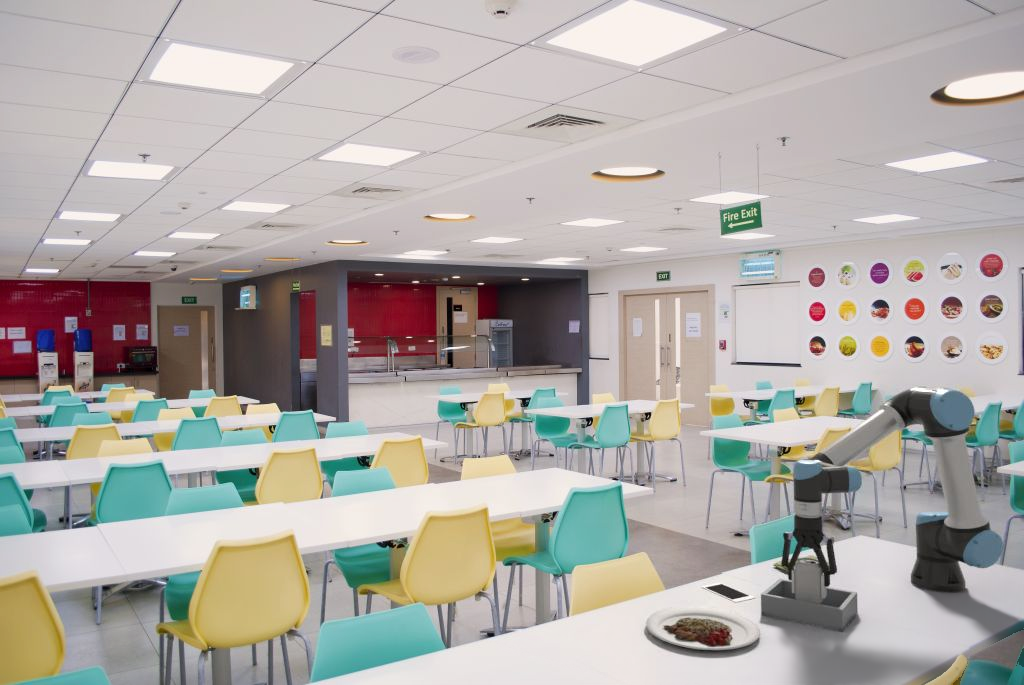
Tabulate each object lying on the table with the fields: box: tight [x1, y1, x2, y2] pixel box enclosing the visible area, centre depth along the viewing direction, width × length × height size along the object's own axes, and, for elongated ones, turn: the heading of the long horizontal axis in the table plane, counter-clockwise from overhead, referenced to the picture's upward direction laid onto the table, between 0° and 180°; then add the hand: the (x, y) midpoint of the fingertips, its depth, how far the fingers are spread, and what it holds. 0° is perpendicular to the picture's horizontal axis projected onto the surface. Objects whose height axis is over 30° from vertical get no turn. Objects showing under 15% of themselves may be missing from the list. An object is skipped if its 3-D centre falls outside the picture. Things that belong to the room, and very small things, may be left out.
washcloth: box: [773, 554, 838, 573], centre depth 256 cm, size 13×18×3 cm
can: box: [795, 558, 823, 604], centre depth 215 cm, size 8×8×12 cm
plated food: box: [645, 605, 761, 651], centre depth 203 cm, size 30×30×3 cm
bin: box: [760, 578, 858, 633], centre depth 215 cm, size 22×17×6 cm
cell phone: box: [701, 582, 756, 603], centre depth 234 cm, size 8×16×1 cm, turn 25°
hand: (809, 594), depth 215 cm, fingers closed on can, 7 cm apart
